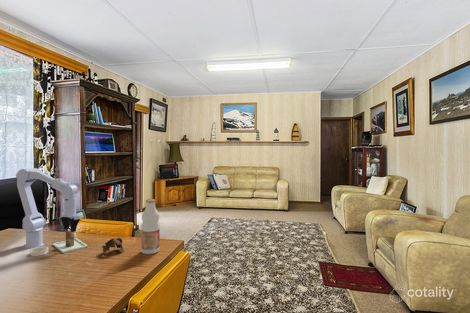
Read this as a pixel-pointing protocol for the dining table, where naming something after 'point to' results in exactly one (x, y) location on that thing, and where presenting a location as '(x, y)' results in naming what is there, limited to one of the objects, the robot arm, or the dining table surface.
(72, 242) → the dowel pin
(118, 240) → the brown arched lump
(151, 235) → the fruit juice
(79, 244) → the sage tray
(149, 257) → the dining table surface
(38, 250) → the white octagonal dish
